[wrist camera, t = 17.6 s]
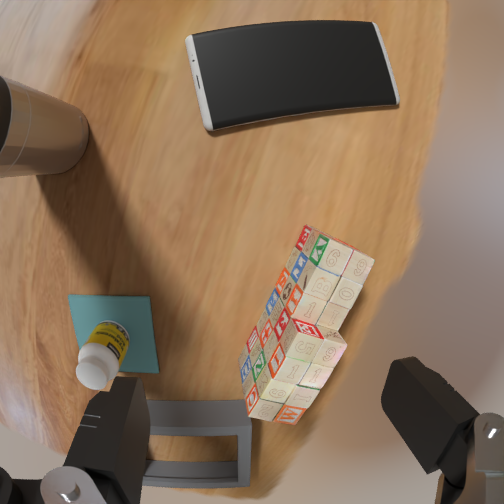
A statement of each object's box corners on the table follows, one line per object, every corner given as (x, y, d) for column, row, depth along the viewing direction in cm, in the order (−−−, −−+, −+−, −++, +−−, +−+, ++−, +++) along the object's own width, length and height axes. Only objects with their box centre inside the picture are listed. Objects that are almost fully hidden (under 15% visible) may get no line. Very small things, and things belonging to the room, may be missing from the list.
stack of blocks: (303, 222, 39) (342, 244, 27) (343, 241, 40) (391, 268, 28) (237, 359, 43) (247, 418, 31) (275, 370, 44) (295, 427, 32)
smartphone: (396, 106, 37) (402, 104, 35) (205, 133, 35) (205, 132, 33) (372, 25, 33) (377, 21, 32) (184, 40, 31) (183, 34, 30)
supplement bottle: (137, 333, 39) (120, 376, 30) (120, 358, 40) (103, 402, 30) (103, 311, 38) (78, 349, 28) (89, 338, 38) (64, 378, 29)
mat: (85, 366, 40) (84, 368, 39) (69, 294, 37) (67, 296, 36) (159, 370, 42) (158, 373, 41) (149, 296, 39) (149, 298, 38)
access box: (133, 461, 46) (129, 484, 41) (111, 397, 42) (102, 421, 36) (245, 463, 49) (249, 486, 43) (247, 399, 45) (252, 425, 39)
